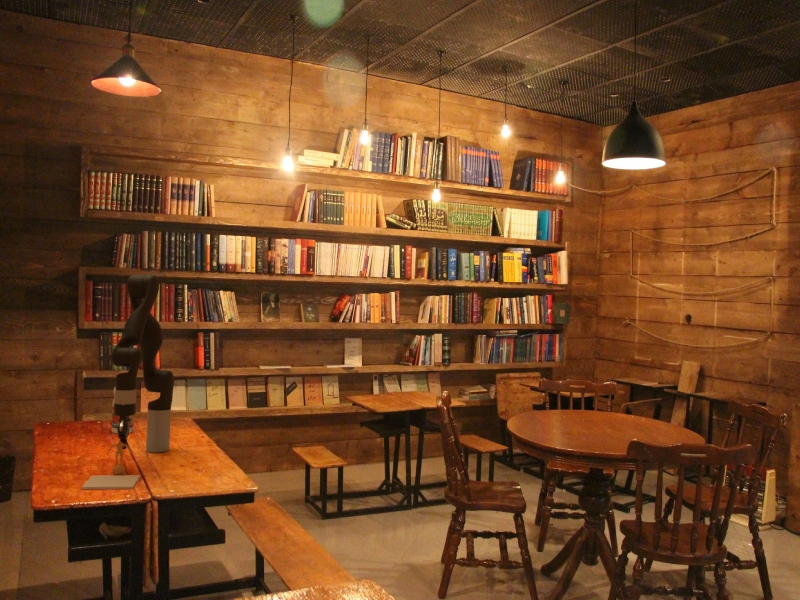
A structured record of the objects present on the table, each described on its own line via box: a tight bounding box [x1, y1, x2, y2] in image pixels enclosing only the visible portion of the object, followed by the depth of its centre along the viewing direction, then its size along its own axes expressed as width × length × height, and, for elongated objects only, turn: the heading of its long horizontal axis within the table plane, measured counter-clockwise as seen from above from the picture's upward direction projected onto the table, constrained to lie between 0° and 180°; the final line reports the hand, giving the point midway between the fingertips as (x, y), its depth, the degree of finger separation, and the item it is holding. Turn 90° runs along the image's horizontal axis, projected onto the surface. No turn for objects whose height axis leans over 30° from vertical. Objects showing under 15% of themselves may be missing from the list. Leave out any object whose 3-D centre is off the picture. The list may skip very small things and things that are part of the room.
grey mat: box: [80, 474, 141, 491], centre depth 243 cm, size 15×16×1 cm
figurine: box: [106, 440, 133, 475], centre depth 254 cm, size 8×6×12 cm
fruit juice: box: [111, 370, 135, 435], centre depth 330 cm, size 9×9×28 cm
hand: (123, 448), depth 262 cm, fingers closed
